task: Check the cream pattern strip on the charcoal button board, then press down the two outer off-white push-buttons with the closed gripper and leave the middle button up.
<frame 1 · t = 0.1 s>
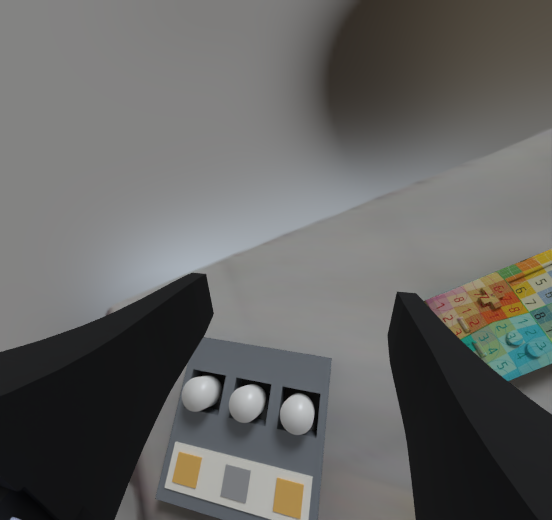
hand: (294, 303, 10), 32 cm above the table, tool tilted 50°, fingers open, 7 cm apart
button 2: (202, 392, 37), point 4 cm above the table, slide at 0.0 cm
button 1: (298, 412, 34), point 4 cm above the table, slide at 0.0 cm
board: (251, 421, 38), on the table
puzzle game: (506, 317, 38), on the table
button middle: (248, 401, 35), point 4 cm above the table, slide at 0.0 cm
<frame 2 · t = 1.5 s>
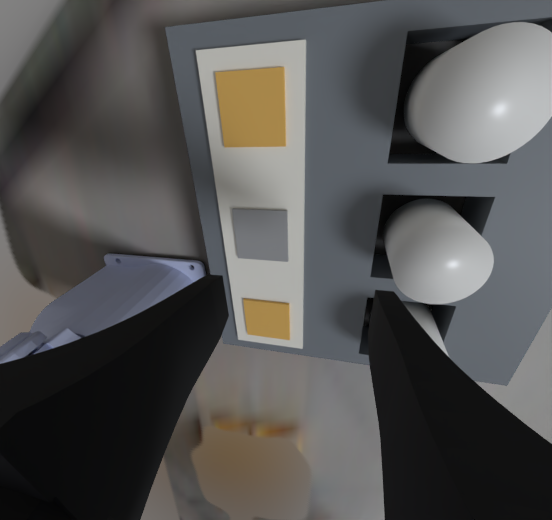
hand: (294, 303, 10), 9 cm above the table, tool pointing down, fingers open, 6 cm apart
button 2: (467, 101, 11), point 4 cm above the table, slide at 0.0 cm
button 1: (404, 341, 17), point 4 cm above the table, slide at 0.0 cm
board: (363, 219, 18), on the table
button middle: (429, 248, 14), point 4 cm above the table, slide at 0.0 cm
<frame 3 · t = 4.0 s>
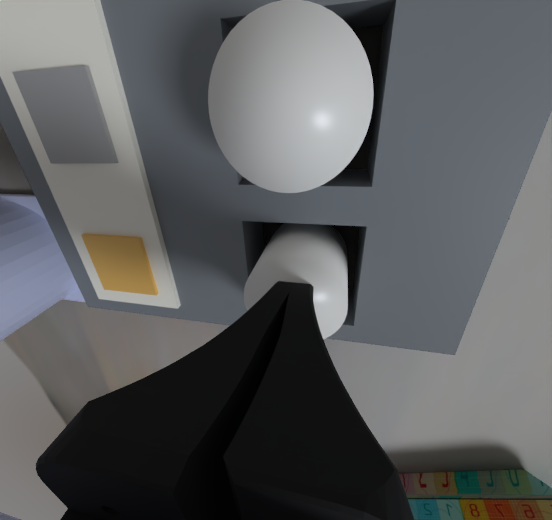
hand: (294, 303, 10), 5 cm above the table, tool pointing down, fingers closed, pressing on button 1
button 1: (301, 276, 12), point 3 cm above the table, slide at 0.8 cm, touching gripper
board: (244, 111, 12), on the table
puzzle game: (481, 519, 25), on the table
button middle: (298, 109, 8), point 4 cm above the table, slide at 0.0 cm
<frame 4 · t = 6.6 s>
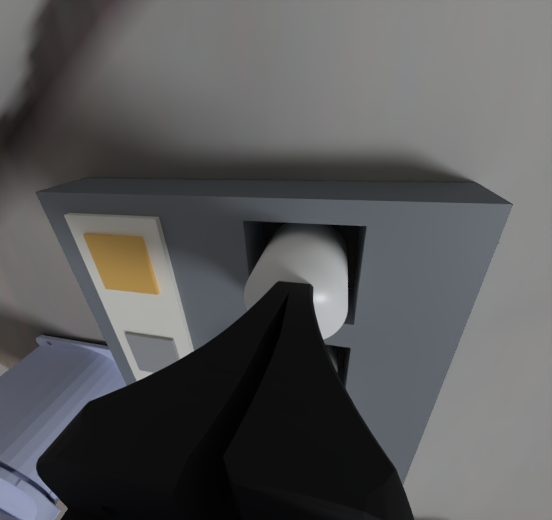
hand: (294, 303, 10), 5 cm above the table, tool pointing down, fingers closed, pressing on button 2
button 2: (301, 276, 12), point 3 cm above the table, slide at 0.7 cm, touching gripper
board: (263, 329, 19), on the table
button middle: (298, 385, 15), point 4 cm above the table, slide at 0.0 cm
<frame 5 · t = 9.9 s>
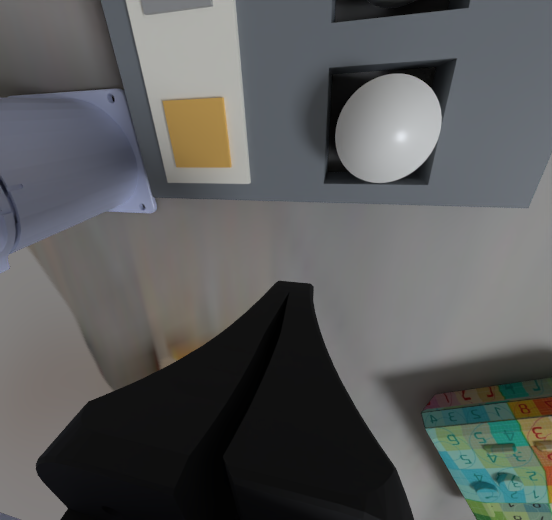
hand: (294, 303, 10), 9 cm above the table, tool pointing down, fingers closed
button 1: (380, 129, 13), point 3 cm above the table, slide at 1.0 cm
puzzle game: (518, 443, 25), on the table
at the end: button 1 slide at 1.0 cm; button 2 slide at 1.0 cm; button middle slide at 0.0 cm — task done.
